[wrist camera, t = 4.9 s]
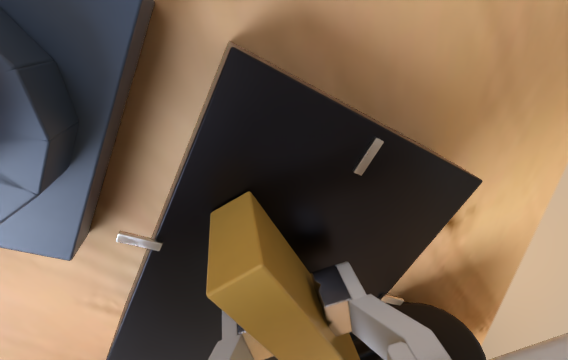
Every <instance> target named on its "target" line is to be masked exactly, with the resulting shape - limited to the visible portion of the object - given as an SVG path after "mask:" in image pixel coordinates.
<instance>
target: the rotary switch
mask: <svg viewBox="0 0 568 360" xmlns="http://www.w3.org/2000/svg"><path fill="white" fill-rule="evenodd" d="M481 183H482V180H481V179H479V178H478V177H476V176H474V175H473V174H471V173H469V172H468V171H466V170H464V169H463V168H461V167H459V166H457V165H456V164H454V163H452V162H451V161H449V160H447V159H446V158H444V157H442V156H441V155H439V154H437V153H435V152H434V151H432V150H430V149H428V148H426V147H424V146H422V145H421V144H419V143H417V142H415V141H413V140H411V139H410V138H408V137H406V136H404V135H402V134H400V133H399V132H397V131H395V130H393V129H391V128H389V127H387V126H386V125H384V124H382V123H380V122H378V121H376V120H375V119H373V118H371V117H369V116H367V115H365V114H363V113H362V112H360V111H358V110H356V109H354V108H352V107H351V106H349V105H347V104H345V103H343V102H341V101H340V100H338V99H336V98H334V97H332V96H330V95H328V94H327V93H325V92H323V91H321V90H319V89H317V88H316V87H314V86H312V85H310V84H308V83H306V82H305V81H303V80H301V79H299V78H297V77H295V76H293V75H292V74H290V73H288V72H286V71H284V70H282V69H281V68H279V67H277V66H275V65H273V64H271V63H269V62H268V61H266V60H264V59H262V58H260V57H258V56H257V55H255V54H253V53H251V52H249V51H247V50H246V49H244V48H242V47H240V46H238V45H236V44H234V43H233V42H230V41H229V42H228V44H227V47H226V49H225V52H224V54H223V57H222V59H221V62H220V65H219V67H218V70H217V72H216V75H215V77H214V80H213V82H212V85H211V87H210V90H209V93H208V95H207V98H206V100H205V103H204V105H203V108H202V110H201V113H200V115H199V118H198V120H197V123H196V126H195V128H194V131H193V133H192V136H191V138H190V141H189V143H188V146H187V148H186V151H185V154H184V156H183V159H182V161H181V164H180V166H179V169H178V171H177V174H176V176H175V179H174V182H173V184H172V187H171V189H170V192H169V194H168V197H167V199H166V202H165V204H164V207H163V210H162V212H161V215H160V217H159V220H158V222H157V225H156V227H155V230H154V232H153V235H152V238H148V237H144V236H140V235H136V234H131V233H127V232H123V231H120V232H119V234H118V237H117V240H116V242H120V243H125V244H129V245H134V246H138V247H142V248H147V250H146V253H145V255H144V258H143V260H142V263H141V266H140V268H139V271H138V273H137V276H136V278H135V281H134V283H133V286H132V288H131V291H130V293H129V296H128V299H127V301H126V304H125V307H124V309H123V312H122V315H121V318H120V321H119V324H118V327H117V330H116V333H115V336H114V338H113V341H112V344H111V347H110V350H109V353H108V356H107V359H106V360H208V359H209V357H210V355H211V353H212V351H213V349H214V348H215V346H216V344H217V342H218V341H221V340H222V310H221V309H220V308H219V307H218V306H217V305H216V304H215V303H214V302H212V301H211V300H210V299H209V298H208V297H207V295H206V286H207V268H208V251H209V233H210V215H211V213H212V212H213V211H215V210H216V209H218V208H220V207H222V206H224V205H225V204H227V203H229V202H231V201H232V200H234V199H236V198H238V197H239V196H241V195H243V194H245V193H246V192H249V191H250V192H251V193H252V194H253V196H254V197H255V198H256V200H257V201H258V203H259V204H260V205H261V207H262V208H263V209H264V211H265V212H266V214H267V215H268V216H269V218H270V219H271V220H272V222H273V223H274V225H275V226H276V227H277V229H278V230H279V231H280V233H281V234H282V236H283V237H284V238H285V240H286V241H287V242H288V244H289V245H290V247H291V248H292V249H293V251H294V252H295V253H296V255H297V256H298V258H299V259H300V260H301V262H302V263H303V264H304V266H305V267H306V269H307V270H308V271H309V273H310V274H311V272H314V271H317V270H320V269H323V268H326V267H330V266H333V265H337V264H340V263H343V262H349V264H350V265H351V267H352V269H353V271H354V273H355V274H356V276H357V278H358V280H359V282H360V284H361V285H362V287H363V289H364V291H365V293H366V294H367V295H368V294H372V295H373V296H375V297H377V298H378V299H380V300H382V301H383V302H386V303H390V304H395V305H399V306H400V305H401V304H402V303H403V302H404V300H403V299H402V298H398V297H394V296H389V295H386V294H387V293H388V292H389V291H390V289H391V288H392V287H393V286H394V285H395V284H396V282H397V281H398V280H399V279H400V278H401V277H402V275H403V274H404V273H405V272H406V271H407V270H408V268H409V267H410V266H411V265H412V264H413V263H414V261H415V260H416V259H417V258H418V257H419V255H420V254H421V253H422V252H423V251H424V250H425V248H426V247H427V246H428V245H429V244H430V243H431V241H432V240H433V239H434V238H435V237H436V236H437V234H438V233H439V232H440V231H441V230H442V229H443V227H444V226H445V225H446V224H447V223H448V222H449V220H450V219H451V218H452V217H453V216H454V215H455V213H456V212H457V211H458V210H459V209H460V208H461V206H462V205H463V204H464V203H465V202H466V201H467V199H468V198H469V197H470V196H471V195H472V193H473V192H474V191H475V190H476V189H477V188H478V186H479V185H480V184H481ZM349 334H350V336H351V335H352V334H353V333H352V332H349ZM264 360H278V359H277V358H276V357H275V356H273V357H270V358H267V359H264Z"/></svg>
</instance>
